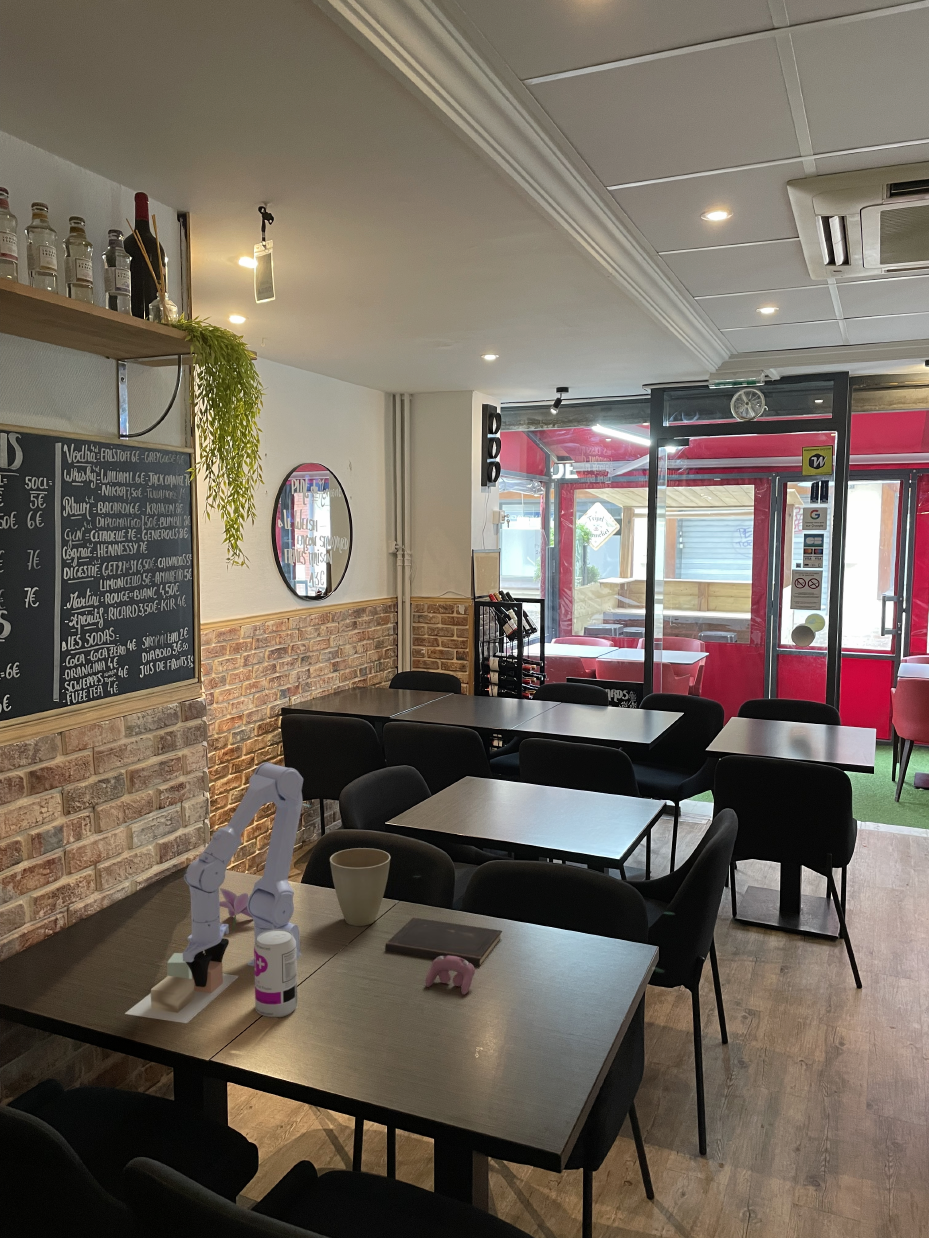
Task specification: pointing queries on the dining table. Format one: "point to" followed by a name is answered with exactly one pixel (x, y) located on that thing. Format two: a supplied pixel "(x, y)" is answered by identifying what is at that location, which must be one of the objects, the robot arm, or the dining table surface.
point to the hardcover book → (443, 940)
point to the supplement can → (275, 973)
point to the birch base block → (172, 994)
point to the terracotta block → (212, 978)
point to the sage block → (178, 967)
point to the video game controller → (451, 963)
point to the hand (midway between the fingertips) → (207, 980)
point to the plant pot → (360, 883)
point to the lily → (235, 903)
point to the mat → (188, 1011)
